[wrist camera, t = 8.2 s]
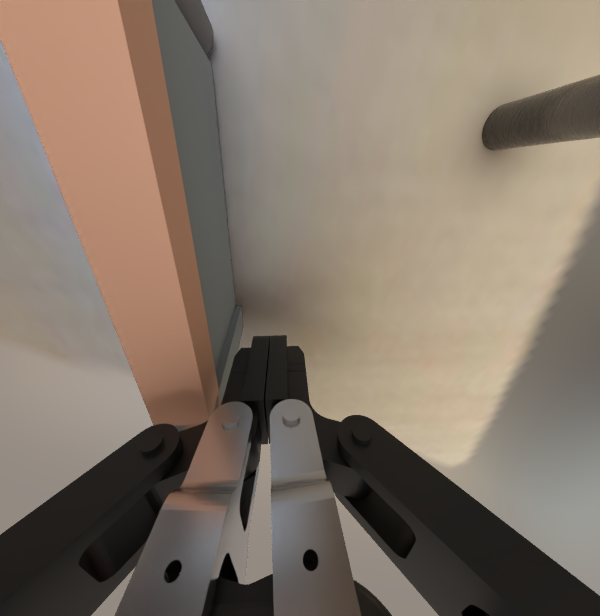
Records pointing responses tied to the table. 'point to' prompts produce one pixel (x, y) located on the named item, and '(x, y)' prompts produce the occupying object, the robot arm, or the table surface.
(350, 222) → the table surface
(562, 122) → the gate frame
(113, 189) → the gate
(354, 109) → the table surface
